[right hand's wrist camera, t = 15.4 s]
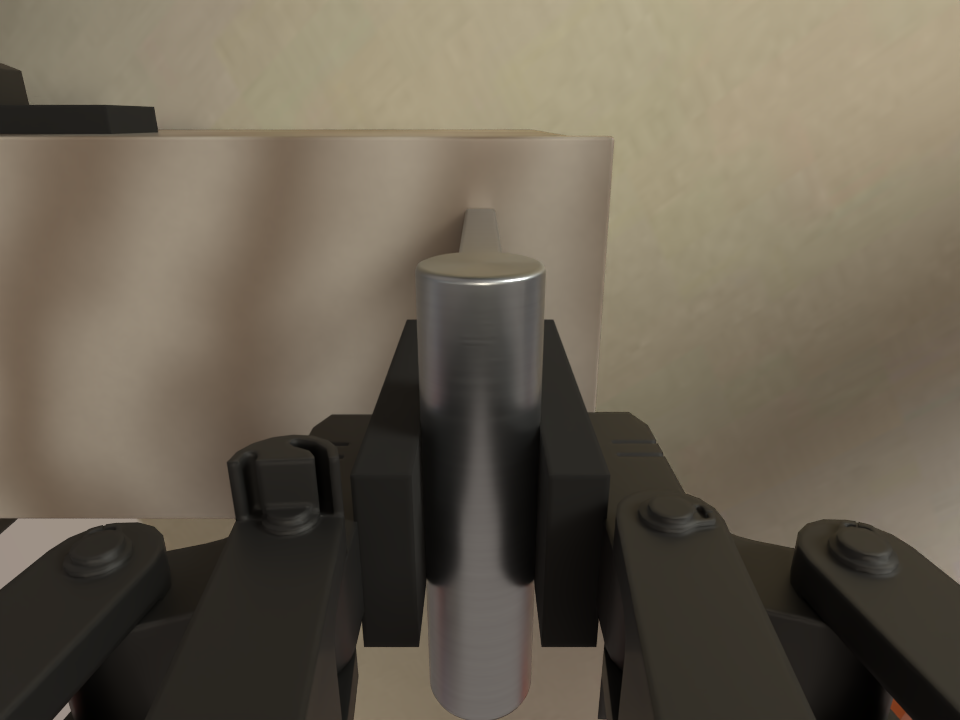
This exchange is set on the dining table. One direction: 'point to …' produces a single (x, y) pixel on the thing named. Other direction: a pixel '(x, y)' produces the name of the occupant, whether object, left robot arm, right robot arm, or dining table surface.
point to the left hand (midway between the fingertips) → (166, 302)
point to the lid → (303, 335)
